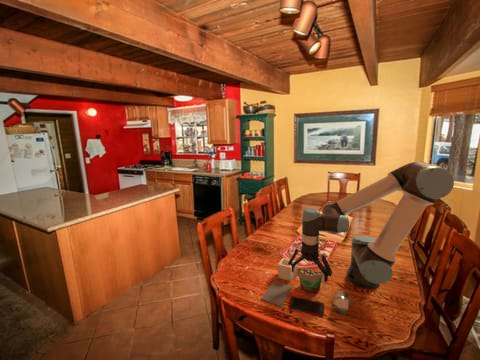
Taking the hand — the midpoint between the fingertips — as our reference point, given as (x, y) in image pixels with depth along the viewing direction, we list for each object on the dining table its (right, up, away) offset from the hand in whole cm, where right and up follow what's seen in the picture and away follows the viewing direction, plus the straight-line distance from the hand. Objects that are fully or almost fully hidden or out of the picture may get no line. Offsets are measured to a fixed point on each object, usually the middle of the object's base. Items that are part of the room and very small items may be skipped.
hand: (308, 282), depth 113 cm
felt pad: (-15, -5, 0) cm, 16 cm away
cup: (-8, -2, +13) cm, 16 cm away
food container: (+1, -5, +1) cm, 5 cm away
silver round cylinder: (+11, -6, -11) cm, 17 cm away
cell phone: (-4, -7, -9) cm, 12 cm away
